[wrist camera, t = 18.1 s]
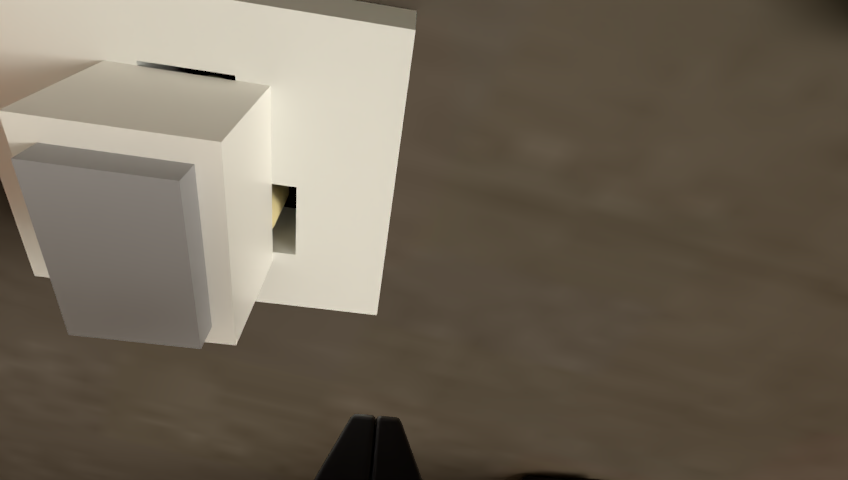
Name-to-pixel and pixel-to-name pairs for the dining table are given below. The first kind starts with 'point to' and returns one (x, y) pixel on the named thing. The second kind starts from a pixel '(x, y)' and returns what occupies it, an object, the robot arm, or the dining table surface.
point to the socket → (290, 112)
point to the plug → (149, 200)
